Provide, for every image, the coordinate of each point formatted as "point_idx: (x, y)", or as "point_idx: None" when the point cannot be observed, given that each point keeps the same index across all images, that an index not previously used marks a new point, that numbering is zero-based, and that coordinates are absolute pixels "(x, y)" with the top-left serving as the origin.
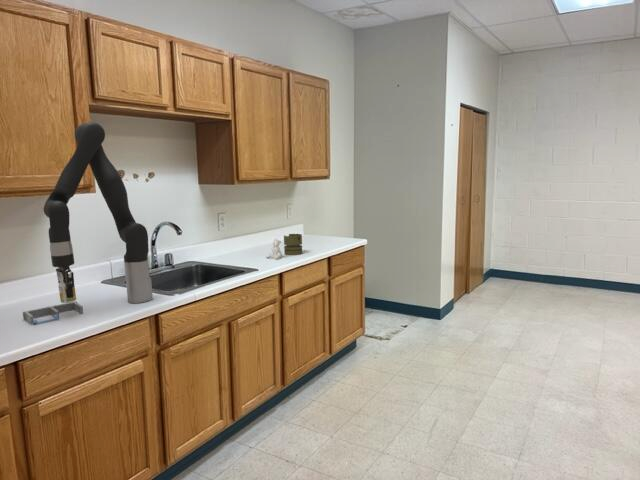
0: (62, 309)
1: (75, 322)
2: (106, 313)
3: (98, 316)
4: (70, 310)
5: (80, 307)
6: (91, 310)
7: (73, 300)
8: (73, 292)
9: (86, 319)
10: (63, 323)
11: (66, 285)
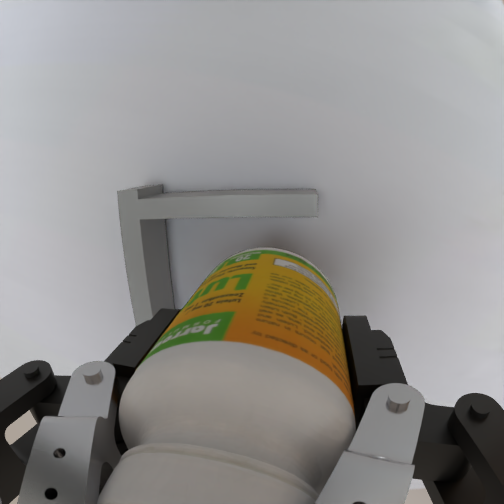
0: (164, 285)
1: (459, 288)
2: (424, 79)
3: (454, 143)
4: (165, 232)
5: (317, 212)
6: (266, 119)
7: (332, 291)
8: (334, 322)
9: (458, 222)
10: (420, 339)
11: (432, 486)
